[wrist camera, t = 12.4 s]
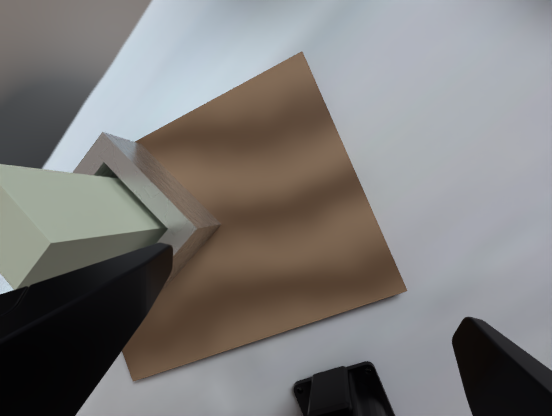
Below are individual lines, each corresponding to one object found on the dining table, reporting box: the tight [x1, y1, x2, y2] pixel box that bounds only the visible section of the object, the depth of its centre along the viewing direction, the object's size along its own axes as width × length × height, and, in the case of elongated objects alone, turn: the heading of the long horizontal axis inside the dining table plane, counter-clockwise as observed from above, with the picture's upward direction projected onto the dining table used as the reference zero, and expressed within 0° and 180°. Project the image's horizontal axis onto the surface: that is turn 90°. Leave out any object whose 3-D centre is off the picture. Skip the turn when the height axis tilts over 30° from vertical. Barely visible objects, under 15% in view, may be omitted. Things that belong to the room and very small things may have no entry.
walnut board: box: [122, 52, 407, 381], centre depth 23 cm, size 19×24×1 cm
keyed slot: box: [73, 132, 221, 290], centre depth 21 cm, size 10×8×4 cm
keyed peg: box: [0, 164, 168, 290], centre depth 18 cm, size 5×3×12 cm, turn 48°
